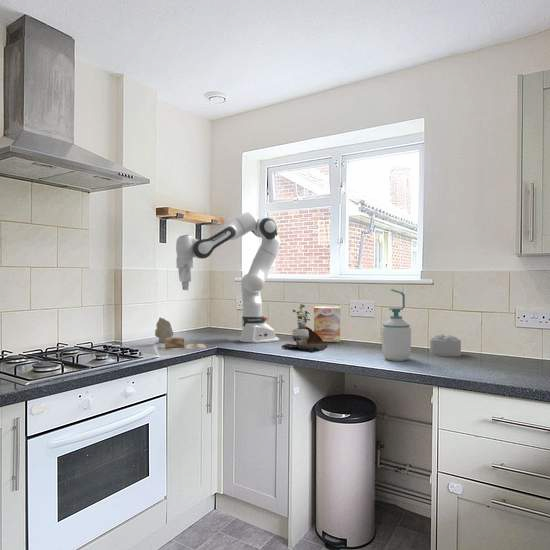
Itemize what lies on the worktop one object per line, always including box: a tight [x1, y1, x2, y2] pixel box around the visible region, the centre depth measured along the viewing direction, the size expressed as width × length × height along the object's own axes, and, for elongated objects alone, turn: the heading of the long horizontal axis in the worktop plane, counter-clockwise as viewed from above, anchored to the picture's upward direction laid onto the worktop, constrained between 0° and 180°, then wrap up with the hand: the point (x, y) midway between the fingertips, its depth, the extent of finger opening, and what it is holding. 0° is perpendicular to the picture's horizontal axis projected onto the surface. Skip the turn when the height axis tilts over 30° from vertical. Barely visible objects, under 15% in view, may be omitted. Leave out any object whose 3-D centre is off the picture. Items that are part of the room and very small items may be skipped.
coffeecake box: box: [313, 306, 342, 343], centre depth 242 cm, size 15×7×20 cm, turn 80°
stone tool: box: [154, 316, 174, 343], centre depth 234 cm, size 11×4×15 cm, turn 77°
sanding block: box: [164, 336, 185, 348], centre depth 217 cm, size 9×5×4 cm, turn 109°
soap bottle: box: [381, 288, 412, 362], centre depth 188 cm, size 12×12×31 cm
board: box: [160, 343, 207, 351], centre depth 218 cm, size 22×13×1 cm, turn 109°
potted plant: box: [281, 303, 329, 352], centre depth 221 cm, size 20×19×25 cm
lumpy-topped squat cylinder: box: [429, 334, 462, 357], centre depth 199 cm, size 10×13×9 cm
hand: (185, 290), depth 231 cm, fingers open, 8 cm apart
